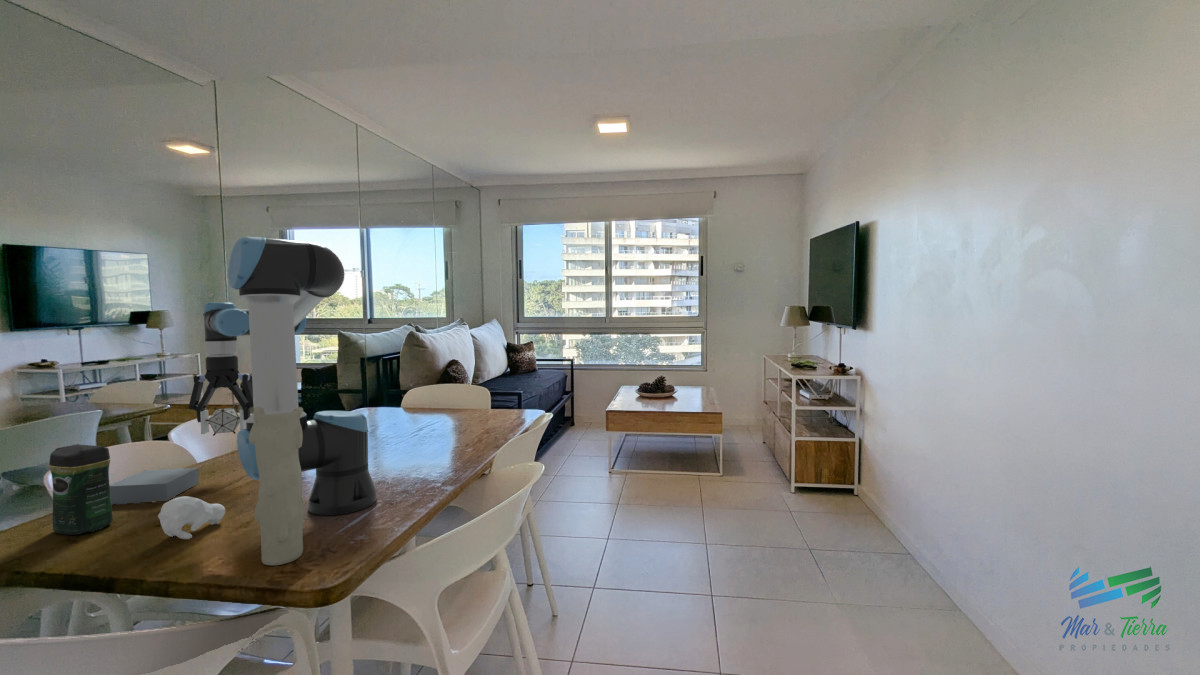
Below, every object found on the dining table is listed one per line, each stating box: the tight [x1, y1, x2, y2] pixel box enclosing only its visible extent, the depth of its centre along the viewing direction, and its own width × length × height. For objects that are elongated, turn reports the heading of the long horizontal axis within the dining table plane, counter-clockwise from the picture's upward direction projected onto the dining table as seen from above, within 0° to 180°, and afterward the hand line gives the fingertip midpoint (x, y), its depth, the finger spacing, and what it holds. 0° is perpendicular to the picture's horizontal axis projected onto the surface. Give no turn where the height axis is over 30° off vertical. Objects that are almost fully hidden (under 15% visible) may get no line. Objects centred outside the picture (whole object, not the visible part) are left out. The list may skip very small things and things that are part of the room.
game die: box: [205, 405, 240, 437], centre depth 146 cm, size 9×8×10 cm
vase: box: [249, 406, 306, 566], centre depth 97 cm, size 9×8×30 cm
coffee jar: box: [48, 443, 114, 536], centre depth 110 cm, size 10×8×19 cm
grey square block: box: [109, 467, 200, 506], centre depth 131 cm, size 13×13×5 cm
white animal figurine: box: [157, 495, 226, 540], centre depth 109 cm, size 6×8×12 cm
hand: (224, 432), depth 147 cm, fingers closed on game die, 9 cm apart
